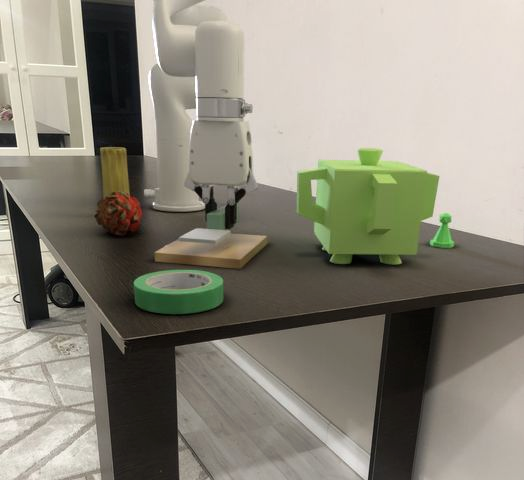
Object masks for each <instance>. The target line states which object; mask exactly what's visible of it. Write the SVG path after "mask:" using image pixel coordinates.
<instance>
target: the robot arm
mask: <svg viewBox="0 0 524 480" xmlns="http://www.w3.org/2000/svg"><path fill="white" fill-rule="evenodd" d="M204 1H206V0H153V7H152V22H151V23H152V33H153V40H154V48H155V55H156V59H157V63H156V64H153V66H152V67H151V68H150V71H149V74H148V85H149V91H150V96H151V101H152V106H153V107H152V108H153V116H154V124H155V125H154V126H155V143H156V164H157V165H156V166H157V184H158V187H156V188H154V189H150V188H145V189H144V190H143V196H144V198H145V199H154V202H152V209H154V210H157V211H161V212H171V213H189V212H197V211H202V210H204V219H205V222H206V223H207V214H208V213H210V212H212V211H214V210H216V209H218V203H217V201H215V200H216V199H215V186H226V189H227V201H226V204H225V205H226V206H225V205H224V206H225V228H226V230H230V229H232V228H234V227H235V225H236V224H237V223H236V222H237V205H238V203H240V201H241V200H242V199H243V198H244V197H245V196H246V195H248V194H250V193H252V192H256V191H257V190H258V188H259V185H258V183H257V180H256V178H255V175H254V155H253V140H252V132H251V127H250V126H251V125H250V122H249V121H248V120H244V118H245V117H246V115H247V114H252V113H253V104H252V103H248V102H247V101H246V100H245V32H244V29H243V27H242V26H241V25H240V24H238V23H236V22H233V21H232V22H231V21H229V20H228V16H227V14H226V12H225V11H224V10H223V9H222V8H221V7H218V6H214V5H207V4H200V3H202V2H204ZM186 110H196V119H191V117H190V116H189V114H188V113H187V111H186ZM245 184H246V185H245ZM243 185H245V186H243ZM241 186H243V187H241ZM240 187H241V188H240ZM235 223H236V224H235Z"/></svg>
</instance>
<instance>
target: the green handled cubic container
mask: <svg viewBox="0 0 524 480" xmlns="http://www.w3.org/2000/svg"><path fill="white" fill-rule="evenodd" d="M383 151H384V150H383V149H381V148H375V147H363V148H358V149H357V155H358V159H359V160H356V159H355V160H354V159H319V160H318V161H317V167H316V168H311V169H303V170H298V171H297V172H296V175H297V176H296V214H297V215H299V216H300V217H303V218H306V219H307V220H309V221H312V222H314V223H313V234H314V235H315V236H316V238H317V240H318V241H319V242H320V243H321V245H322V247H321V250H322V251H326V252H327V253H328V255H332V256H331V257H330V259H329V262H331V263H333V264H338V265H347V264H351V263H352V260H353V256H354V255H379V260H380V261H379V262H381V263H382V264H386V265H401V264H402V259H401V258H400V256H399V255H402V256H403V255H404V256H406V255H407V256H411V255H412V256H416V255H417V254H418V247H419V241H420V240H419V239H420V233H421V225H422V221H425V220H427V219H430V218H433V215H434V210H435V205H436V198H437V194H438V187H439V182H440V175H438V174H434V173H429V172H428V170H426V169H423V168H420V167H417V166H414V165H410V164H407V163H404V162H400V161H398V160H380V159H381V157H382V155H383ZM312 181H316V189H315V203H314V202H313V189H312Z"/></svg>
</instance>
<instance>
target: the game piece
mask: <svg viewBox="0 0 524 480" xmlns="http://www.w3.org/2000/svg"><path fill="white" fill-rule="evenodd" d="M452 218H453V217H452V214H449V213H448V212H444V213H442V214H439V217H438V219H439V220H438V221H439V223H441V224H440V225H439V228H438V230H437V231H436V233H435V235H434V237H433V238H432V239H430V240H429V245H430V246H431V247H435V248H440V249H451V248H453V247H455V241H453V240H452V236H451V232H450V227H449V224H450V223H452Z"/></svg>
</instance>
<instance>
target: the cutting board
mask: <svg viewBox="0 0 524 480" xmlns="http://www.w3.org/2000/svg"><path fill="white" fill-rule="evenodd" d="M267 245H268V236H267V235H259V234H244V233H232V232H231V234H230V235H229V236H227V237H225V238H224V239H222V240H221V241H219V242H218V243H216V244H210V243H196V242H183V241H179V238H178V239H176V240H175V241H173V242H171V243H169V244H167V245H165V246H163V247H162V248H159V249H158V250H156V251H155V252H154V263H155V262H157V263H166V264H167V263H169V264H179V265H180V264H181V265H191V266H202V267H212V268H213V267H215V268H225V269H234V270H235V269H237V270H240V269H242V268H243V267H244V266H245V265H246V264H247V263H248V262H250V260H252V259H253V258H254V257H255V256H256V255H257V254H259V252H261V250H263V249H264V247H266V246H267Z"/></svg>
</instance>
